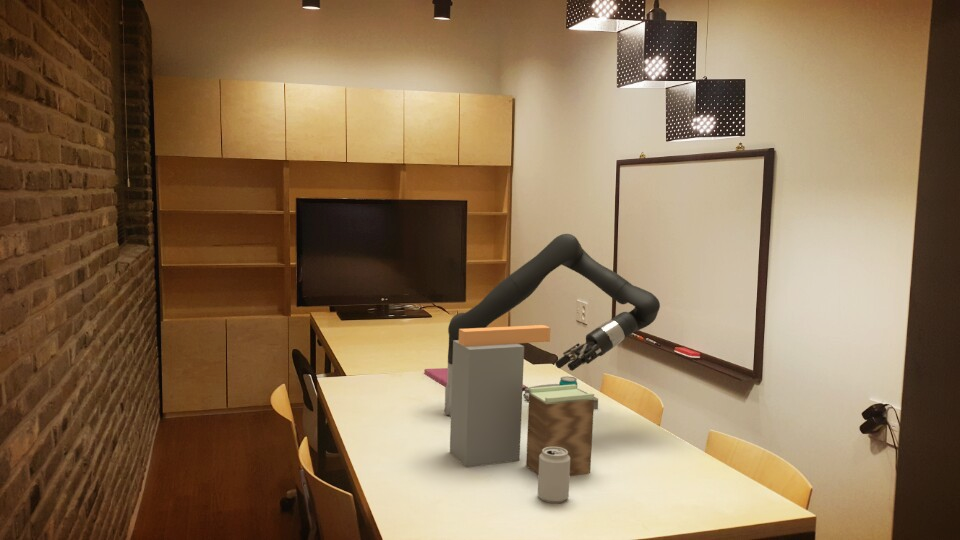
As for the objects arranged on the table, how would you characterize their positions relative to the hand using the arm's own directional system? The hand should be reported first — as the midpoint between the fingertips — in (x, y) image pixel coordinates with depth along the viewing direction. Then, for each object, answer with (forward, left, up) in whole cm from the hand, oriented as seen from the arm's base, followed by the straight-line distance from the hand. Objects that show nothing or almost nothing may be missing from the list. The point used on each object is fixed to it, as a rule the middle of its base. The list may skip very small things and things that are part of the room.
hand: (562, 366), depth 214 cm
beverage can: (0, +20, -24) cm, 31 cm away
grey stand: (-19, -16, -23) cm, 34 cm away
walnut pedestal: (+2, -20, -23) cm, 31 cm away
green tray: (+2, -20, -3) cm, 20 cm away
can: (+2, -38, -24) cm, 45 cm away
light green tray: (-4, +42, -24) cm, 49 cm away
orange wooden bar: (-15, -13, +9) cm, 22 cm away
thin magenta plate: (-38, +59, -24) cm, 75 cm away
